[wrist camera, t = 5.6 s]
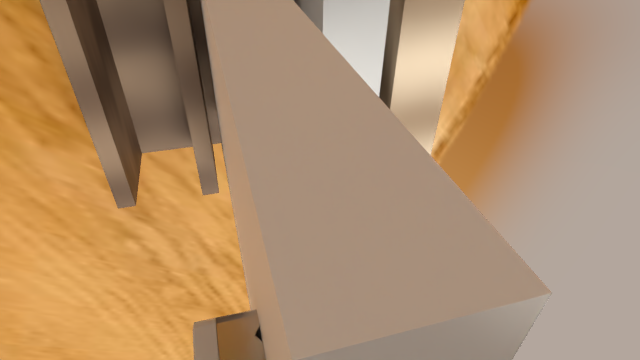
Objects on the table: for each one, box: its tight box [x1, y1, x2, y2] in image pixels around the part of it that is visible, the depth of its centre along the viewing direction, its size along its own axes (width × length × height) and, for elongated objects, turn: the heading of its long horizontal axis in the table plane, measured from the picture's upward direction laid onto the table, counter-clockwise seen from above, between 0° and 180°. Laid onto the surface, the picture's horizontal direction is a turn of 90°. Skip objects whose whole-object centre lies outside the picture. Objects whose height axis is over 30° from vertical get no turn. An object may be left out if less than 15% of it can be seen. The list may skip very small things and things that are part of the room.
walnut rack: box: [40, 0, 222, 208], centre depth 25 cm, size 15×20×7 cm
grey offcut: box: [293, 0, 390, 97], centre depth 24 cm, size 10×3×10 cm, turn 179°
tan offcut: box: [379, 0, 465, 155], centre depth 25 cm, size 10×3×10 cm, turn 178°
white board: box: [200, 0, 552, 360], centre depth 15 cm, size 12×2×22 cm, turn 178°
